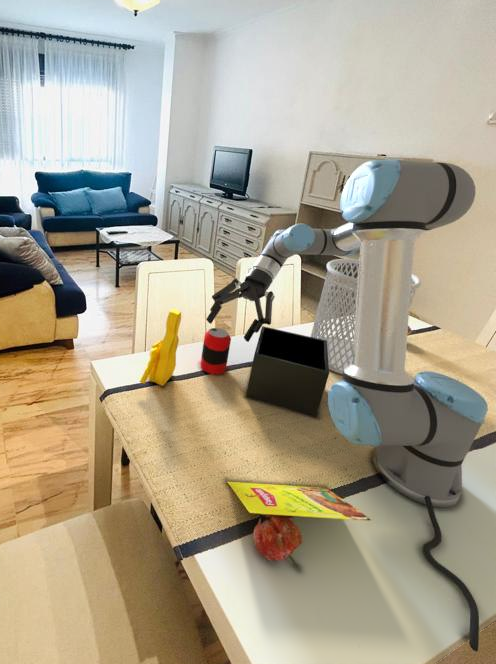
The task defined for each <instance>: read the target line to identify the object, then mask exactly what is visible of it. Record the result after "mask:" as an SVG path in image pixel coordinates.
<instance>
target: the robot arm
mask: <svg viewBox="0 0 496 664" xmlns="http://www.w3.org/2000/svg"><path fill="white" fill-rule="evenodd" d="M475 197H476V185H475V182H474V179H473V178H472V177H471V175H470V174H469V172H468V171H466V170H465V169H464V168H462V167H460V166H459V165H456V164H452V163H450V162H443V161H442V162H440V161H437V162H434V161H422V160H421V161H420V160H407V159H406V160H405V159H397V158H388V159H371V160H368V161H366V162H363V163H362V164H360V165H359V166H358V167H357V168H356V169H355V170H354V171H353V172H352V173H351V174H350V177H349V178H348V179H347V181H346V183H345V184H344V187H343V190H342V193H341V197H340V202H339V203H340V204H339V208H340V209H339V211H340V213H341V214H342V216H341V217H342V218H343V219H344V220H345V221H346V222H347V223H344V224H342V225H340V226H338V227H336V228H312V227H311V226H310V225H307V224H305V223H302V222H301V223H296V224H294V225H292V226H289V227H287V228H286V229H278V230H276V231H275V232H274V234H273V235H272V236H270V238H269V241H268V242H267V243H266V246H265V247H264V248H263V250H262V251H261V253H260V255H259V256H258V257H257V259H256V261H255V262H254V264H253V265H252V266H251V267H252V268H251V269H250V270H249V271H248V273H247V275H246V276H245V279H244V280H243V281H239V280H238V278H237V277H235V278H233V279H232V281H231V282H230V283H228V284H227V285H226V286H224V287H223V288H221V289H220V290H218V291H216V293H214V294H212V296H211V299H212V300H213V304H212V306H211V307H210V310H209V311H210V312H209V314H208V316H207V317H206V318H205V320H206V322H207V323H208V324H210V325H211V324H212V323H213V321H214V320H216V318H217V316H218V314H219V312H220V311H221V309H222V308H223V306H222V305H224V304H227V303H229V302H231V301H234V300H236V299H241V298H243V299H245V300H248V301H249V302H254V306H255V310H256V315H257V319H256V318H254V319H253V321H252V323H251V324H250V326H249V328H248V329H247V331H245V334H244V336H243V339H244V341H246V342H247V343H249V342H250V341H251V338H252V337H253V335H254V334H257V333H259V331H260V330H261V329H262V326H264V325H268V326H270V325H271V324H272V315H273V301H274V299H275V294H274V292H273V291H272V290H270V291H268V290H269V288H270V286H271V285H272V283H273V281H274V280H275V278H276V277H277V276H278V274H279V272H280V271H281V269H282V267H283V266H284V264H285V263H286V262H287V260H288V259H289V258H291V257H293V256H295V255H310V256H311V255H313V256H314V255H315V256H319V255H320V256H337V257H347V256H348V257H350V256H354V255H355V254H356V253H357V252H358V251H359V256H358V257H359V258H358V260H359V264H358V267H359V272H358V273H357V277H358V287H357V288H356V290H357V302H356V308H355V310H356V312H355V315H356V317H355V318H354V319H355V321H354V324H355V332H354V331H353V333H354V347H353V362H352V363H351V364H350V365H349V366H347V367H346V368H344V369H343V375H342V380H339V381H337V382H334V383H333V384H331V387H330V388H329V390H328V393H327V405H328V411H329V414H330V416H331V419H332V421H333V424H334V426H335V427H336V429H337V431H338V432H339V434H340V435H341V436H342V437H343V438H344V439H345V440H347V441H348V442H350V443H352V444H353V445H358V446H369V447H374V448H375V447H376V449H375V452H374V454H373V465H374V467H375V469H376V471H377V472H378V474H379V475H380V477H381V478H382V479H383V480H384V481H385V482H386V483H387V484H388V485H389V486H390V487H391V488H393V489H394V490H396V491H397V492H398V493H400V494H402V495H403V496H405V497H407V498H409V499H411V500H413V501H415V502H417V503H420V504H422V505H426V510H427V513H428V517H429V520H430V523H431V525H432V528H433V532H434V536H433V539H432V540H429V541H428V542H425V543H424V544H423V546H422V552H423V555H424V558H425V559H426V560H427V562H429V564H430V565H431V566H433V567H434V569H436V570H438V571H439V572H440V573H441V574H443V575H444V576H445V577H447V578H448V579H450V580H451V581H452V582H453V583H455V585H456V586H457V587H458V588H459V589H460V591H461V593H462V595H463V596H464V597H465V599H466V602H467V604H468V607H469V641H468V644H469V648H470V649H472V651H474V652H478V651H479V641H480V639H479V638H480V636H479V635H480V634H479V633H480V614H479V609H478V604H477V602H476V601H475V598H474V596H473V594H472V592H471V591H470V590H469V588H468V587H467V585H466V583H464V581H463V580H461V578H459V577H458V576H457V575H456V574H454V572H452V571H451V570H450V569H448V568H446V567H445V566H443V565H442V564H441V563H439V561H437V560H436V559H435V557H433V555H432V553H431V550H432V549H433V548H436V547H438V546H440V544H441V543H442V536H443V535H442V531H441V527H440V525H439V522H438V519H437V516H436V513H435V509H434V508H449V507H452V506H454V505H456V504H457V503H458V501H459V499H460V497H461V496H462V493H463V463H464V460H465V458H466V456H467V455H468V453H469V451H470V448H471V447H472V445H473V443H474V440H475V439H476V437H477V435H478V434H479V431H480V429H481V428H482V425H484V424H485V418H486V415H487V414H488V411H489V407H488V403H487V401H486V400H485V398H484V397H483V396H482V394H480V393H479V392H477V391H476V390H475V389H474V388H473V387H471V386H469V385H468V384H466V383H463V382H462V381H459V380H458V379H455V378H453V377H451V376H448V375H445V374H442V373H439V372H435V371H429V370H423V371H420V372H418V373H417V374H416V376H414V377H412V376H411V375H410V374H409V373H408V372H407V371H406V360H407V359H406V358H407V346H408V345H407V344H408V343H407V342H408V335H407V332H408V326H409V317H410V308H409V305H410V291H411V278H412V274H413V265H414V264H413V262H414V251H415V250H414V249H415V242H416V241H417V240H418V239H419V238H420V237H422V236H423V235H425V233H426V232H428V231H431V230H434V229H437V228H440V227H445V226H447V225H450V224H452V223H454V222H456V221H458V220H460V219H461V218H462V217H464V216H465V215H466V214H467V213H468V212H469V210H470V209H471V208H472V206H473V204H474V201H475ZM264 297H265V313H264V314H263V308H262V302H261V299H262V298H264ZM410 306H411V305H410Z"/></svg>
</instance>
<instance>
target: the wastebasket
mask: <svg viewBox="0 0 496 664" xmlns="http://www.w3.org/2000/svg"><path fill="white" fill-rule="evenodd" d="M344 267H345V269H343V268H344ZM349 267H350V269H349ZM355 267H356V269H355V271H354V268H355ZM348 269H349V270H348ZM326 270H327V271H326V275H325V279H324V283H323V287H322V291H321V295H320V298H319V302H318V306H317V310H316V313H315V318H314V322H313V326H312V330H311V333H310V337H313V338H317V339H322V340H326V341H327V348H328V362H329V371H332V372H334V373H337V374H340V375H342V376H343V369H344V368H346V367H347V366H349V365H350V364H351V363H352V362H353V347H354V332H355V317H356V302H357V287H358V276H356V277H355V274H356V273H357V274H358V272H359V258H357V259H355V258H337V259H332V260H330V261H328V262H327V263H326ZM345 273H346V274H345ZM350 274H351V276H350ZM421 285H422V281H421V279H420V278H419V277H418V276H417V275H416V274H413V273H412V278H411V291H410V305H409V309H411V305H412V302H413V299H414V297H415V295H416V291H417V290H418V288H420V287H421ZM351 287H352V289H351ZM336 315H337V316H336ZM337 320H338V321H337ZM333 326H334V327H333ZM334 332H335V333H334ZM345 332H346V333H345ZM333 333H334V334H333Z"/></svg>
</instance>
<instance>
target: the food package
mask: <svg viewBox="0 0 496 664" xmlns="http://www.w3.org/2000/svg"><path fill="white" fill-rule="evenodd" d="M227 484H228V485H229V487H230V488H231V490H232V491H233V492H234V493H235V496H237V497H238V499H239V501H240V502H241V503H242V505H243V506H244V507H245V509H246V510H247V511H248V513H249V514H255V513H258V514H262V515H267V514H269V515H285V516H288V517H302V518H317V519H319V518H320V519H331V520H332V519H335V520H347V521H368V522H372V521H373V520H372V518H370V517H369V516H366V515H365V514H364V513H363V512H362V511H360V510H359V509H357V508H356V507H354V506H353V505H351V504H350V503H349V502H347V501H346V500H344V499H343V498H342V497H340V496H339V495H338V494H336V493H334V492H333V491H332V490H330V489H328V488H327V487H318V486H317V487H316V486H314V487H313V486H300V485H285V484H284V485H283V484H271V483H270V484H269V483H268V484H267V483H253V482H237V481H227ZM258 514H257V515H258Z"/></svg>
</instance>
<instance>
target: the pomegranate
mask: <svg viewBox="0 0 496 664" xmlns="http://www.w3.org/2000/svg"><path fill="white" fill-rule="evenodd" d="M254 514H255V515H257V516H259V519H258V522H257V524H256V525H255V526H254V529H253V541H254V545H255V548H256V550H257V551H258V553H259V554H260V555H261V556H262V557H263V558H264V559H267V560H268V561H270V562H273V561H274V560H275V561H277V562H282V561H285V559H286V558H287V557H289V558H290V559H291V561H292V562H293V564H294V565H295V566H296V568H299V566H298V564H297V563H296V561H295V559H294V558H293V556H292V554H293V553H294V552H295V550H296V549H298V547H299V546H300V545H302V543H303V536H302V533H301V530H300V529H299V527H298V526H297V525H296V523H295V522H294V521H293V520H292V519H291V518H290V516H285V515H269V514H258V513H254Z"/></svg>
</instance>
